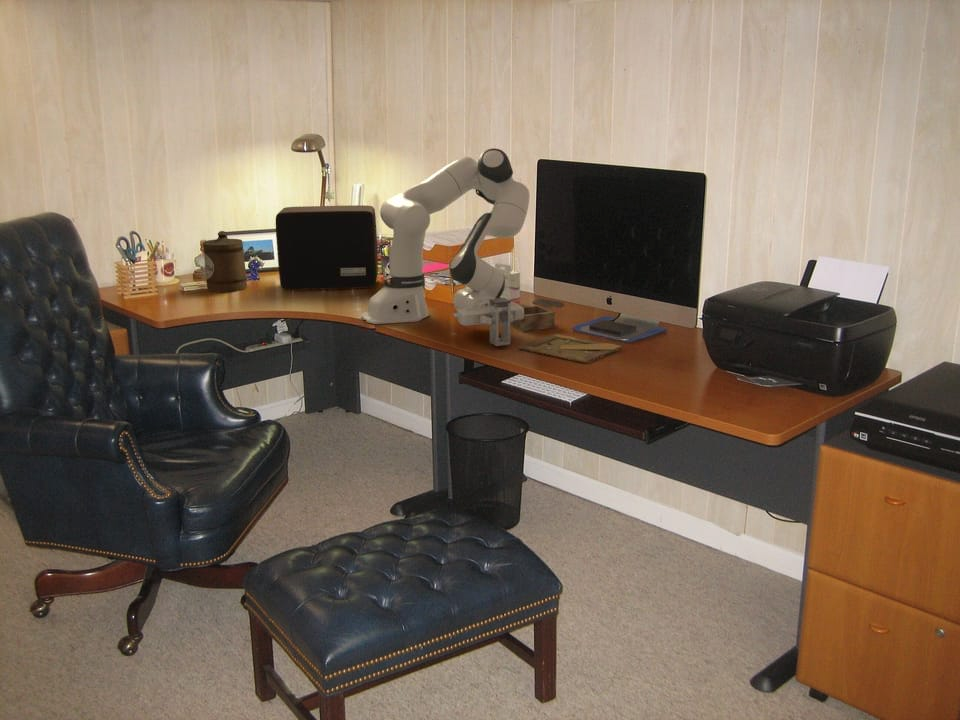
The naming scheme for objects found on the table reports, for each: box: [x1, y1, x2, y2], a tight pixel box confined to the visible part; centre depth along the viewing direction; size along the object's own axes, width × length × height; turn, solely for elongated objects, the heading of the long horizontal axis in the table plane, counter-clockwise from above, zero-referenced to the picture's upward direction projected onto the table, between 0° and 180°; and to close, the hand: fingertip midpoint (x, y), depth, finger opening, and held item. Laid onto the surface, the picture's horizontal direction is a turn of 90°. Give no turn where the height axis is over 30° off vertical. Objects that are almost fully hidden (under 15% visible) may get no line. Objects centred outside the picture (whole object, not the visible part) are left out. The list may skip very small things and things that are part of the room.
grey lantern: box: [489, 298, 511, 347], centre depth 277 cm, size 5×5×13 cm
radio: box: [275, 204, 379, 291], centre depth 360 cm, size 36×18×30 cm, turn 94°
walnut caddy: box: [510, 304, 555, 332], centre depth 302 cm, size 11×11×5 cm
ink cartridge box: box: [494, 262, 521, 306], centre depth 330 cm, size 9×5×15 cm, turn 42°
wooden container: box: [202, 230, 248, 293], centre depth 360 cm, size 15×15×22 cm
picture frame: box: [518, 333, 623, 364], centre depth 276 cm, size 19×2×24 cm
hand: (501, 320), depth 276 cm, fingers closed on grey lantern, 5 cm apart
